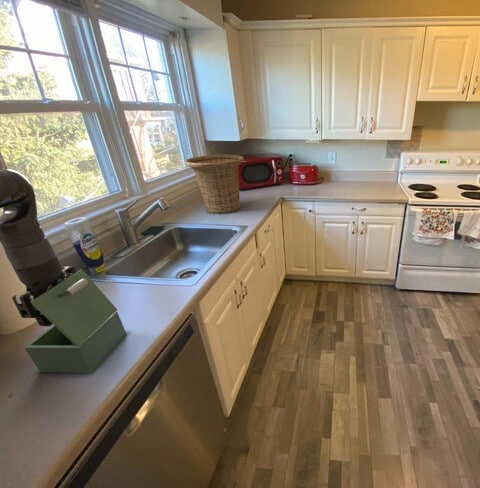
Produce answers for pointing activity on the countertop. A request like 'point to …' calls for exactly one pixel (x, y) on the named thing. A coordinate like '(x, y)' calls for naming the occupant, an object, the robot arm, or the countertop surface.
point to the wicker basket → (218, 181)
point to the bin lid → (75, 307)
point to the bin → (75, 348)
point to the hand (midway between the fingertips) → (63, 314)
